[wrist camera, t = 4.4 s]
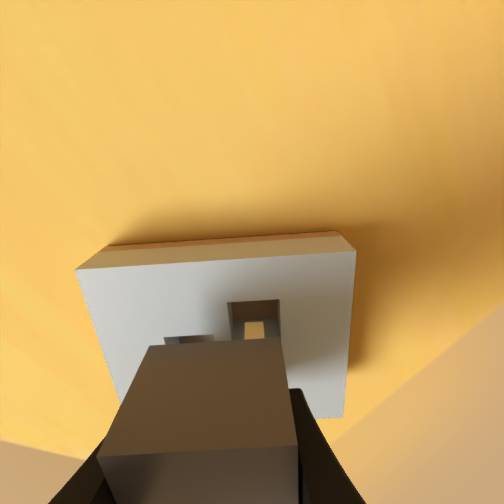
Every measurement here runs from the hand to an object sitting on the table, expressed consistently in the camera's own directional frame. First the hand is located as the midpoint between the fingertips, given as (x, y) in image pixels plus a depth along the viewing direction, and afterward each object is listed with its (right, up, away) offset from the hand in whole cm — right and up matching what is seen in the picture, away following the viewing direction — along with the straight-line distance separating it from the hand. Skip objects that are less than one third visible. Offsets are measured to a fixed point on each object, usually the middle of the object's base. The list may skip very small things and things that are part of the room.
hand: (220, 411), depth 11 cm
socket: (0, +2, +6) cm, 6 cm away
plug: (0, +1, +2) cm, 3 cm away
